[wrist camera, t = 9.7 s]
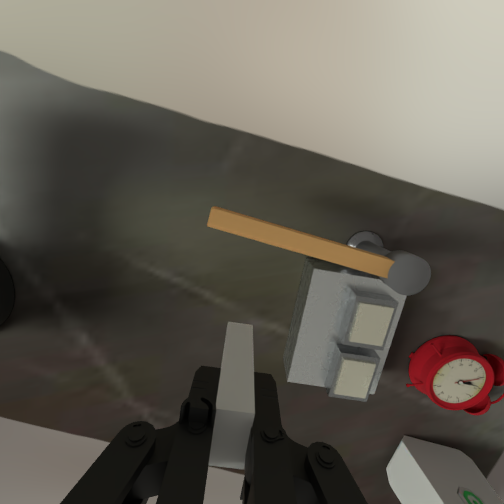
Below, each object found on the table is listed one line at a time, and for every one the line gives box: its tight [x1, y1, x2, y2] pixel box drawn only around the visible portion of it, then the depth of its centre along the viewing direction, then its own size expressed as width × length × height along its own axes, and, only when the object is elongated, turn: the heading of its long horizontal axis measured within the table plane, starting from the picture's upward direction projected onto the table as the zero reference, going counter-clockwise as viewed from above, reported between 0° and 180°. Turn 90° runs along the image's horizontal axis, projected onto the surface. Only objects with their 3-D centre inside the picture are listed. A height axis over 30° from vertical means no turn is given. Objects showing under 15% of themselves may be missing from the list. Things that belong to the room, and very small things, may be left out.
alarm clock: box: [406, 335, 504, 415], centre depth 40 cm, size 10×6×15 cm
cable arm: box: [207, 206, 431, 295], centre depth 31 cm, size 22×4×11 cm, turn 74°
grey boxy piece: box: [283, 231, 407, 402], centre depth 35 cm, size 12×21×7 cm, turn 170°
